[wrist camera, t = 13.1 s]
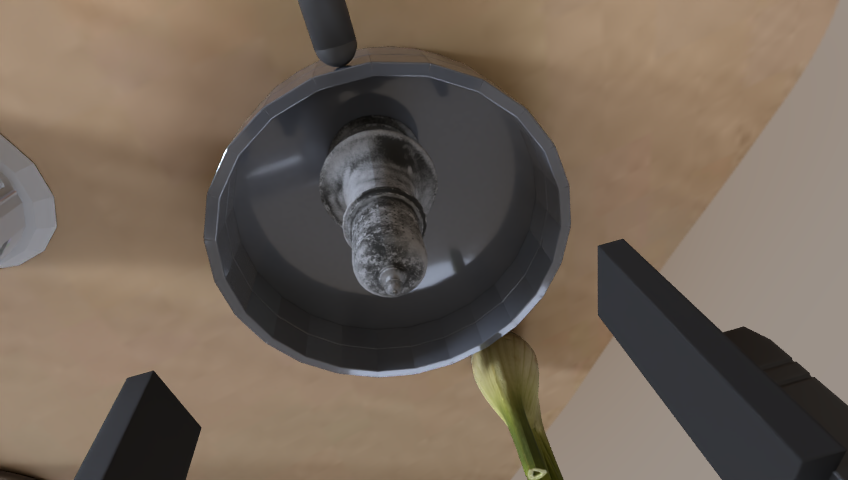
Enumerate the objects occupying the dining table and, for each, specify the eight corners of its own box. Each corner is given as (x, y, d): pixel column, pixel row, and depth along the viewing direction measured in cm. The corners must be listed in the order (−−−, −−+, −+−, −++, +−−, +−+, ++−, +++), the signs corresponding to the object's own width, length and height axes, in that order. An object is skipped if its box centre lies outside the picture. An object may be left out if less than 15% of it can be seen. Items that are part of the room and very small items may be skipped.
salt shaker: (339, 217, 26) (334, 373, 16) (307, 123, 23) (276, 243, 13) (435, 195, 26) (489, 335, 16) (416, 98, 23) (469, 197, 13)
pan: (298, 356, 32) (292, 408, 29) (157, 101, 22) (118, 128, 18) (549, 289, 33) (575, 331, 29) (526, 3, 22) (562, 10, 18)
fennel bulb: (466, 322, 33) (519, 477, 23) (529, 314, 34) (607, 462, 24) (466, 374, 36) (512, 532, 26) (523, 366, 37) (590, 517, 27)
